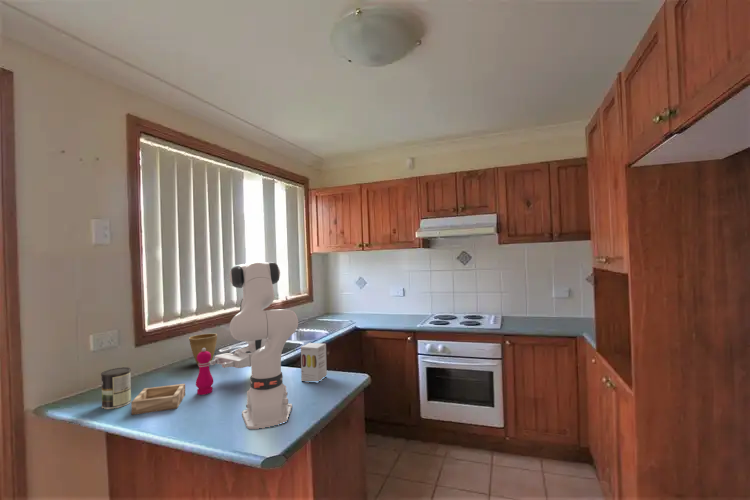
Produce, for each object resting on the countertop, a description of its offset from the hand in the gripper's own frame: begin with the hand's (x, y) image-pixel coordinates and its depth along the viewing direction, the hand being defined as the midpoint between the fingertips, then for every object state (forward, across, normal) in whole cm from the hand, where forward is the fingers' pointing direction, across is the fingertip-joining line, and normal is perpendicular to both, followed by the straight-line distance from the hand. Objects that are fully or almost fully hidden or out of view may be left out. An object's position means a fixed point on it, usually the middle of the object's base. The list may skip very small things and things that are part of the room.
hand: (216, 364), depth 171 cm
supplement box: (-30, +33, +11) cm, 46 cm away
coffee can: (+33, -21, +11) cm, 41 cm away
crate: (+24, -4, +11) cm, 26 cm away
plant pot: (-21, -45, +11) cm, 51 cm away
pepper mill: (+6, 0, +11) cm, 13 cm away
